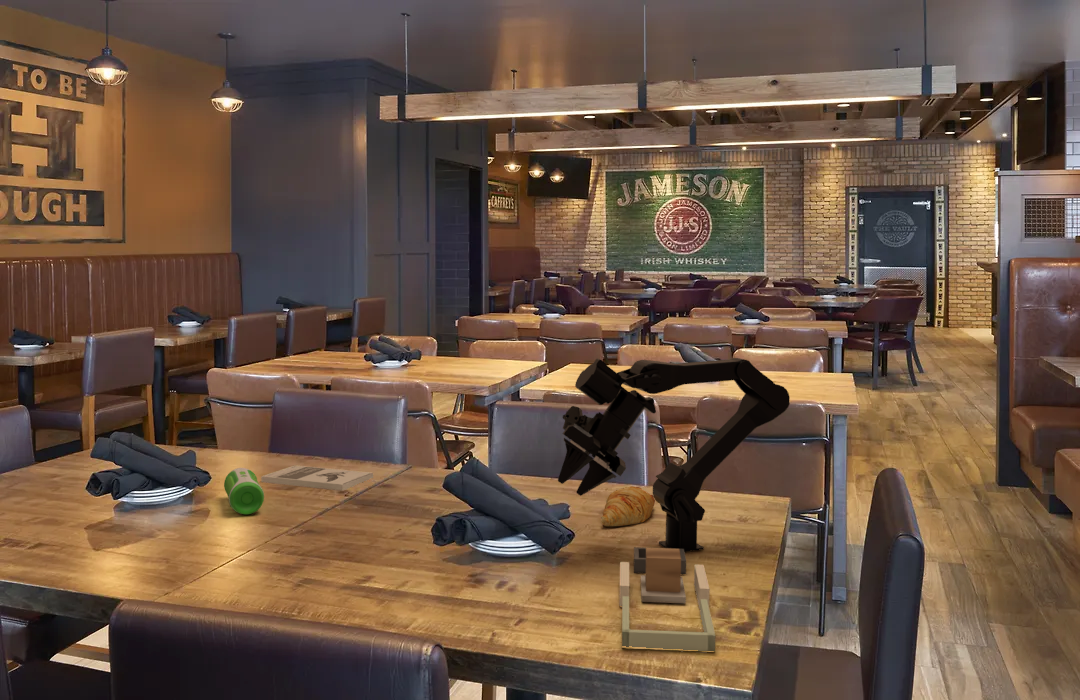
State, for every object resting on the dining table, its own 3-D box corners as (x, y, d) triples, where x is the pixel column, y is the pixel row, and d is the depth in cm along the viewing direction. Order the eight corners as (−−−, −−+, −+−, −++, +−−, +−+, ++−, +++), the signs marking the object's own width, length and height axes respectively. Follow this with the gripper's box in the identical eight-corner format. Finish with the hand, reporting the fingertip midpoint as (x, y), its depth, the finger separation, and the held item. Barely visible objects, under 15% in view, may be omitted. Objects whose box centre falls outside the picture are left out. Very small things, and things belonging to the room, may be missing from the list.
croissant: (616, 548, 197) (633, 517, 194) (578, 519, 201) (594, 488, 198) (660, 522, 214) (676, 493, 212) (624, 496, 219) (639, 467, 216)
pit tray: (633, 560, 177) (634, 547, 177) (683, 562, 177) (683, 548, 176) (634, 572, 170) (634, 559, 170) (685, 574, 170) (686, 560, 169)
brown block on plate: (640, 580, 165) (641, 543, 165) (682, 582, 165) (682, 544, 164) (641, 601, 155) (642, 562, 155) (685, 603, 155) (686, 563, 154)
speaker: (265, 515, 207) (265, 481, 206) (229, 519, 204) (229, 483, 203) (257, 496, 223) (256, 464, 222) (223, 499, 220) (222, 466, 220)
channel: (619, 581, 166) (620, 561, 165) (703, 584, 164) (703, 564, 164) (619, 607, 154) (619, 585, 153) (708, 610, 152) (709, 588, 152)
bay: (622, 611, 152) (622, 596, 151) (706, 615, 151) (706, 599, 150) (621, 649, 137) (622, 631, 137) (715, 652, 136) (715, 635, 136)
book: (261, 484, 237) (261, 476, 237) (295, 472, 250) (294, 465, 249) (342, 492, 228) (342, 484, 228) (373, 480, 241) (373, 472, 241)
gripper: (602, 412, 192) (556, 477, 191) (567, 381, 176) (517, 452, 175) (646, 441, 186) (599, 508, 185) (614, 412, 170) (562, 485, 169)
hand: (569, 488), depth 179 cm, fingers open, 9 cm apart
